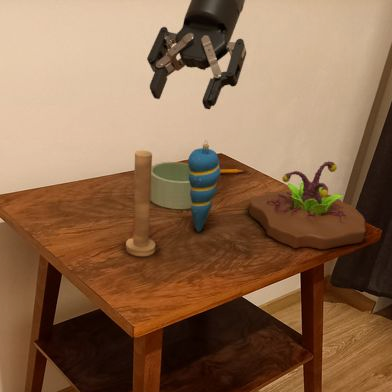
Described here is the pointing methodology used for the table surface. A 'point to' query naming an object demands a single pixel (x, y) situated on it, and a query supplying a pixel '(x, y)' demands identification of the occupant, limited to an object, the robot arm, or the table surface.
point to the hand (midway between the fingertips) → (180, 100)
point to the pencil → (230, 171)
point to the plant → (308, 215)
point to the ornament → (202, 182)
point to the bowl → (171, 185)
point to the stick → (141, 207)
